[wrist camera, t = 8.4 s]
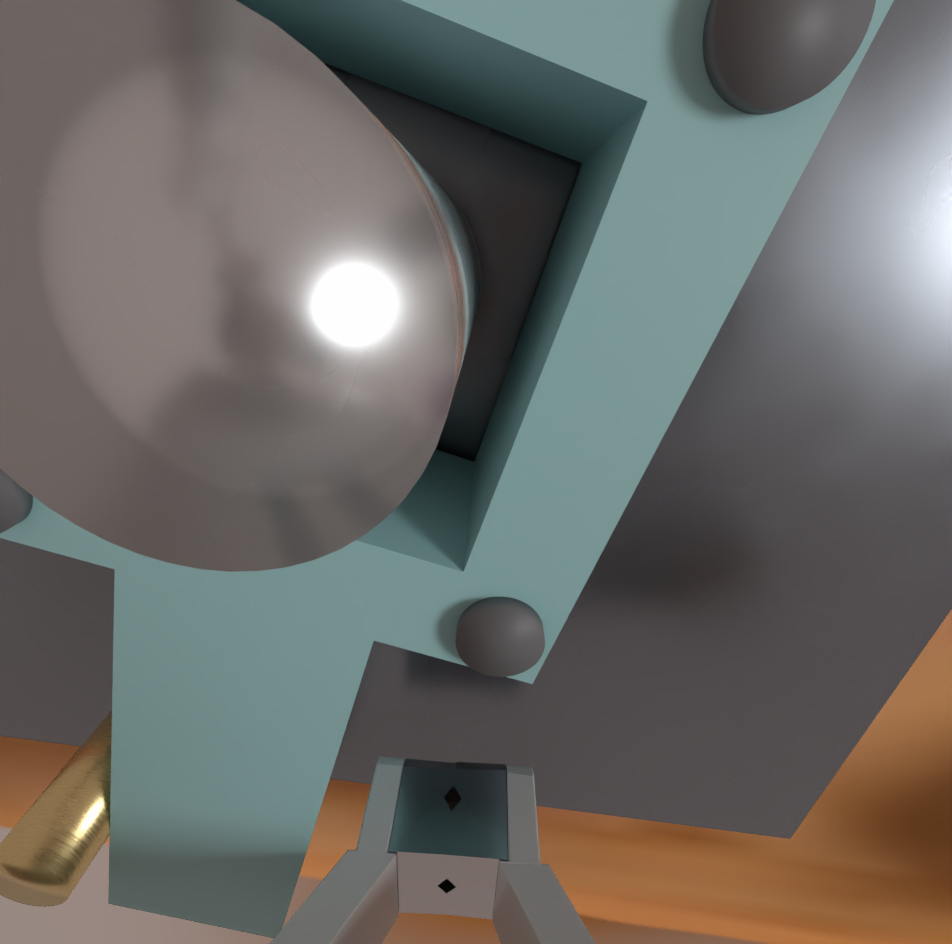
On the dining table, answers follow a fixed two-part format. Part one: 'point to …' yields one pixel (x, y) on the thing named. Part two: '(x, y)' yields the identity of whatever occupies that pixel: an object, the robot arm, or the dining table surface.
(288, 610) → the flange
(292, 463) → the base plate
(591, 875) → the dining table surface
